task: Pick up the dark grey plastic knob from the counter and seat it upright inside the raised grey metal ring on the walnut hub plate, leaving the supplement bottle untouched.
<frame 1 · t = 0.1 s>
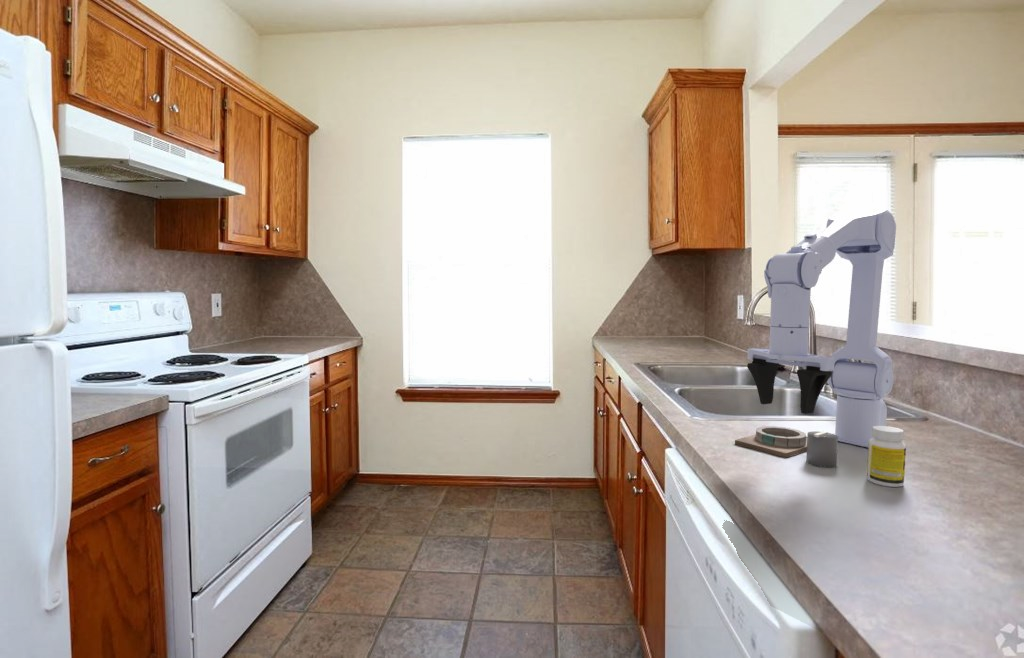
hand: (785, 408, 90), 10 cm above the counter, fingers open, 7 cm apart
supplement bottle: (884, 483, 83), on the counter
knob: (821, 463, 92), on the counter
hub plate: (780, 444, 103), on the counter
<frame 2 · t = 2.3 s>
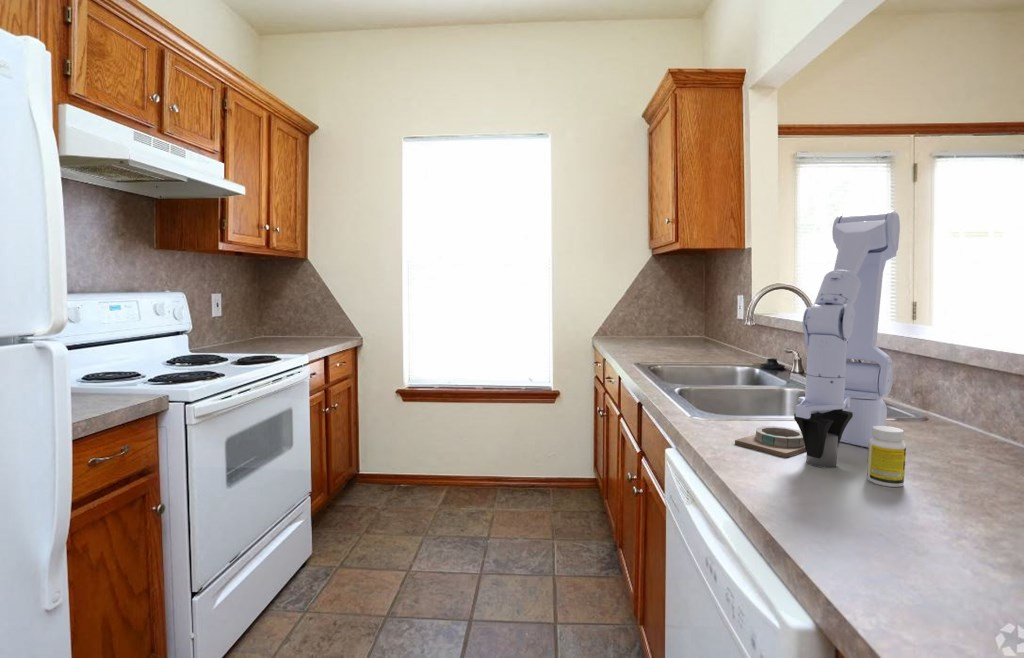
hand: (821, 454, 92), 2 cm above the counter, fingers closed on knob, 4 cm apart
knob: (821, 463, 92), on the counter, touching gripper
everything else where it was.
when the fingers open (3 cm above the counter, at t = 5.8 s): knob stays where it is, resting on hub plate.
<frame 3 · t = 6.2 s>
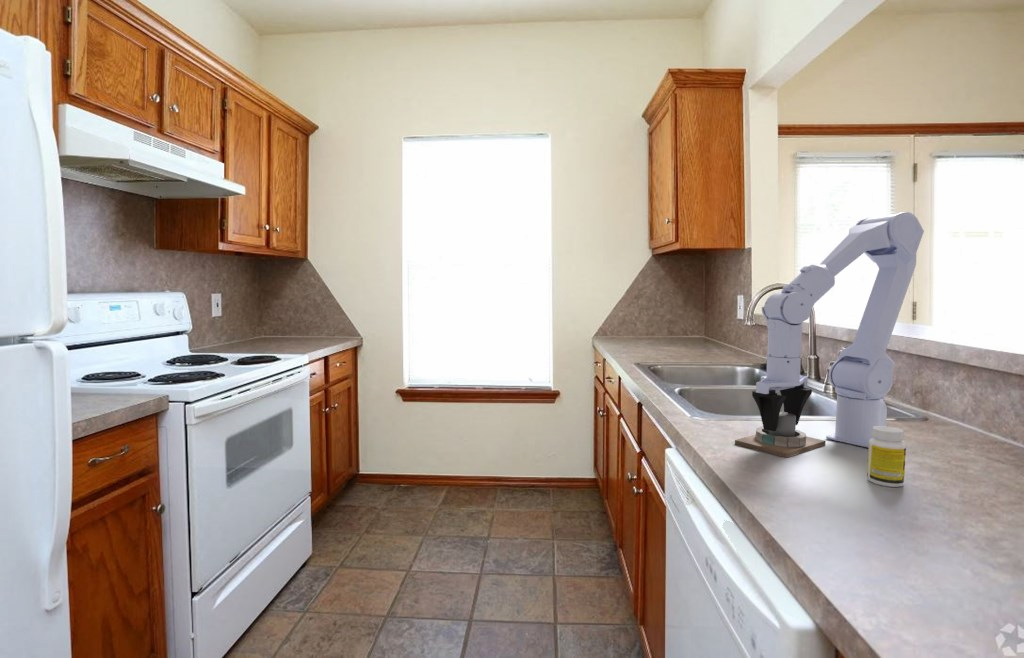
hand: (780, 426, 103), 3 cm above the counter, fingers open, 7 cm apart
knob: (781, 440, 103), point 1 cm above the counter, touching hub plate
everything else where it was.
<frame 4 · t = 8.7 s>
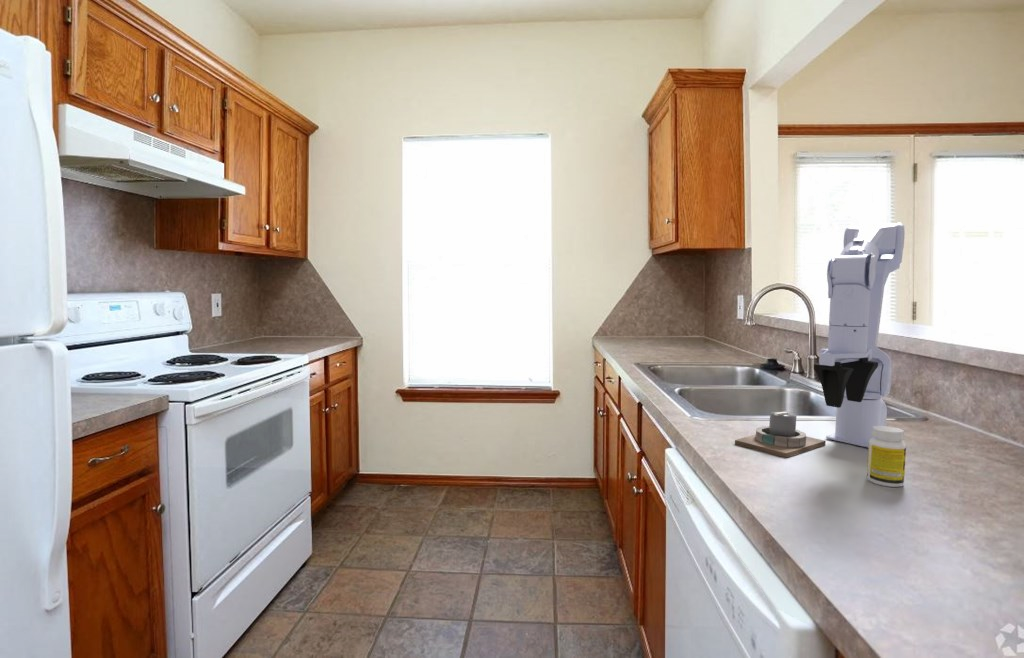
hand: (844, 403, 93), 10 cm above the counter, fingers open, 7 cm apart
nothing on the counter moved.
at the end: knob 0.2 cm off-centre on the hub plate, point 0.9 cm above the hub plate's base; knob tilted 1°; the gripper is holding nothing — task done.
